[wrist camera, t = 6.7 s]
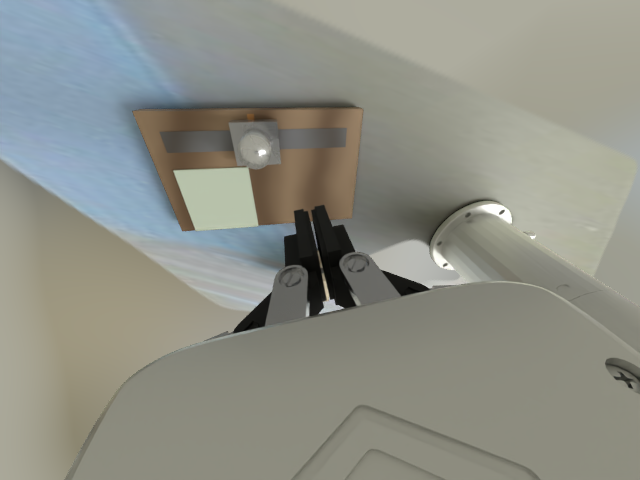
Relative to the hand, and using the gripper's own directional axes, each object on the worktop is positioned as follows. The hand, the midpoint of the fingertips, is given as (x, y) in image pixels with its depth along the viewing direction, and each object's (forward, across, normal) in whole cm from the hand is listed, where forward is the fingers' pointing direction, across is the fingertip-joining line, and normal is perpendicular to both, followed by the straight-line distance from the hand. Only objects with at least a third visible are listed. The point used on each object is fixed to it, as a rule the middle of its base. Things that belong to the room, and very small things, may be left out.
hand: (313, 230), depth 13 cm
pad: (+13, +9, +3) cm, 16 cm away
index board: (+15, +4, +1) cm, 15 cm away
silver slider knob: (+13, +3, -2) cm, 14 cm away
